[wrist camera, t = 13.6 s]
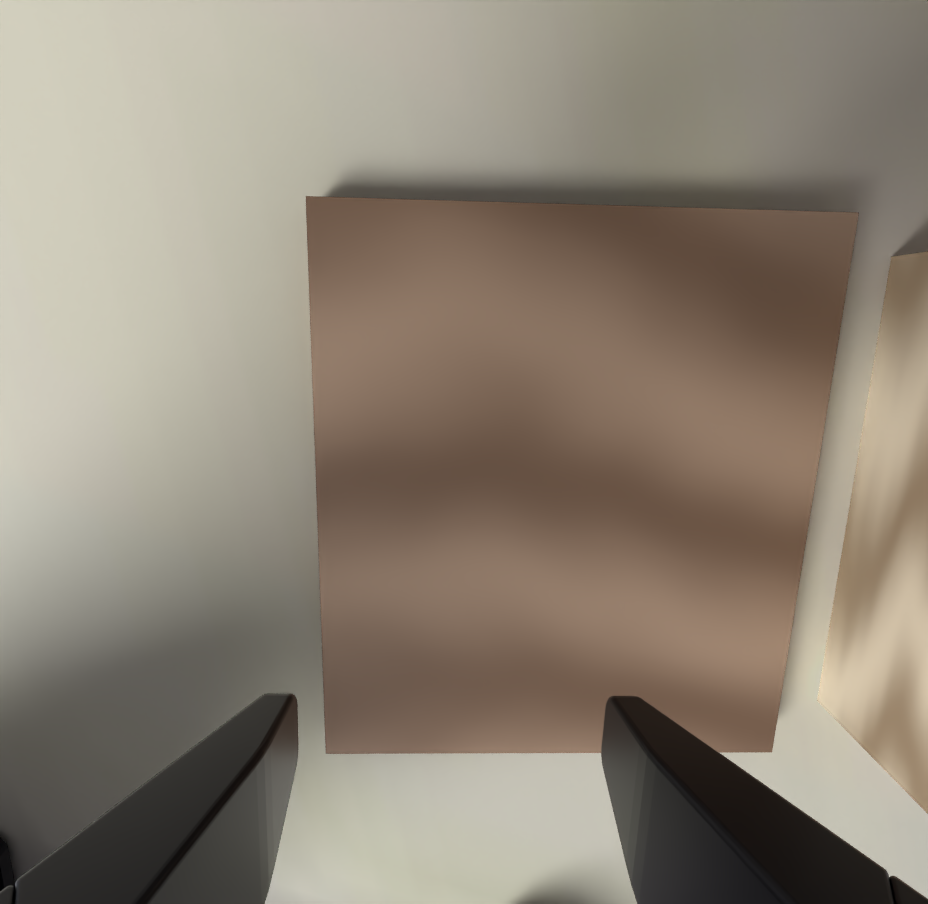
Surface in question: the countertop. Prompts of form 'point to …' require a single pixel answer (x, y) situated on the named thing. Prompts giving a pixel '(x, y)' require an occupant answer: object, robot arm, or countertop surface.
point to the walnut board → (563, 464)
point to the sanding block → (888, 551)
